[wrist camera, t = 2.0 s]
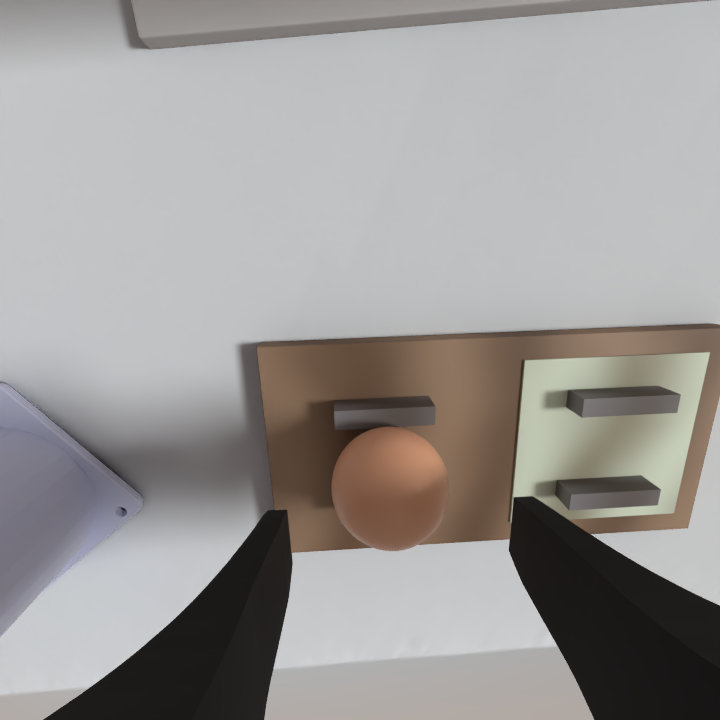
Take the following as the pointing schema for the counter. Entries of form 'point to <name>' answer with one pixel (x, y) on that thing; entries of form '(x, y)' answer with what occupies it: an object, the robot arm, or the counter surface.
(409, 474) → the terracotta ball
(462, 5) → the test tube rack
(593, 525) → the cradle board
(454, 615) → the counter surface
